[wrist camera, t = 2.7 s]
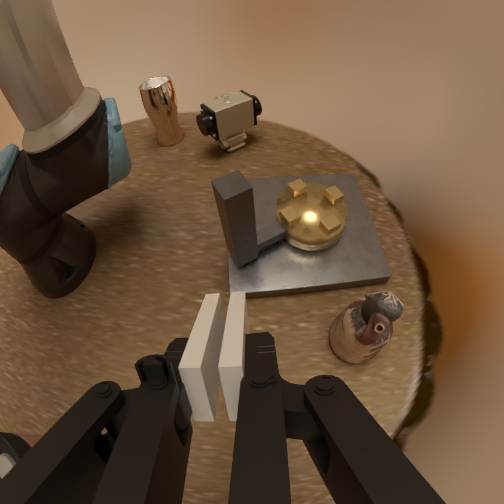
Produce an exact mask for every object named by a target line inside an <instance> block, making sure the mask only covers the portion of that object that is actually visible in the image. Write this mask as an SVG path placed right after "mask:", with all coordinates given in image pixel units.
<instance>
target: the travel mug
mask: <svg viewBox="0 0 504 504" xmlns="http://www.w3.org/2000/svg"><path fill="white" fill-rule="evenodd" d="M42 437H43V436H41V435H24V434H13V433H4V432H0V480H1V479H2V478H3V477H4V476H5V475H6V474H7V473H8V472H9V471H10V470H11V469H12V468H13V467H14V466H15V464H16V463H17V462H18V461H19V460H20V459H21V458H22V457H23V456H24V455H25V454H26V453H27V452H28V451H29V450H30V449H31V448H32V447H33V446H34V445H35V444H36V443H37V442H38V441H39V440H40V439H41V438H42Z"/></svg>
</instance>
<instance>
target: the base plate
mask: <svg viewBox="0 0 504 504" xmlns="http://www.w3.org/2000/svg"><path fill="white" fill-rule="evenodd" d="M297 179H301V180H302V181H303V182H304V183H308V182H309V183H318V184H322V185H325V186H327V187H329V188H330V187H332V186H334V185H335V186H336V187H337V188H338V189H339V190H340V191H341V192H342V193H343V194H344V199H343V200H344V201H345V203H346V206H347V210H348V218H347V221H346V224H345V227H344V230H343V233H342V235H341V237H340V239H339V240H338V241H337V242H336V243H335V244H334V245H332V246H331V247H329V248H326V249H323V250H317V251H309V250H303V249H300V248H297V247H295V246H293V245H291V244H290V243H288V242H287V241H286V240H285V239H284V238H282V239H281V240H279V241H277V242H275V243H273V244H271V245H269V246H267V247H265V248H263V249H261V250H259V251H258V258H256V259H254V260H252V261H250V262H248V263H246V264H244V265H242V266H240V267H239V268H238V266H237V264H236V263H235V261H234V259H233V258H232V256H231V255H230V253H229V251H228V254H229V284H230V295H231V292H240V291H245V294H246V299H247V298H259V297H270V296H280V295H290V294H300V293H309V292H318V291H326V290H334V289H342V288H350V287H358V286H365V285H372V284H379V283H386V282H387V281H388V280H389V279H390V277H391V273H390V270H389V267H388V264H387V260H386V257H385V254H384V251H383V248H382V245H381V242H380V240H379V237H378V234H377V231H376V228H375V226H374V223H373V220H372V218H371V215H370V212H369V210H368V207H367V205H366V202H365V200H364V197H363V195H362V193H361V190H360V188H359V185H358V183H357V181H356V179H355V176H354V174H327V175H305V176H288V177H273V178H261V179H250V180H247V181H248V182H249V183H250V185H251V186H252V187H253V196H254V208H255V220H256V231H257V230H259V229H261V228H263V227H265V226H267V225H270V224H272V223H274V222H276V204H277V200H278V198H279V196H280V195H281V193H282V192H283V191H284V190H286V189H287V184H288V183H290V182H293V181H295V180H297Z"/></svg>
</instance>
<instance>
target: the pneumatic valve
mask: <svg viewBox="0 0 504 504" xmlns="http://www.w3.org/2000/svg"><path fill="white" fill-rule="evenodd" d="M200 106H201V110H200V112H201V114H199V115H197V117H196V120H197V124H198V127H199V129H200V131H201V132H202V134H203V135H204V136H208V135H211V136H212V137H213V138H214V139H215V140H216V141H218V140H219V144H220V146H221V148H222V149H224V150H225V149H228V150H227V151H228V152H232V151H235V150H237V149H239V148H241V147H244V146H245V142H244V141H245V140H246V139H247V136H246V133H245V132H244V131H243V130H244V129H247V128H249V127H252V126H255V125H257V120H258V118H257V117H256V116H258V115H260V114H261V112H262V107H261V103H260V101H259V100H258V98H257V97H255V96H254V95H249V94H248V93H246V92H244V91H242V90H241V91H238V92H235V93H232V94H229V95H225V96H224V95H222V96H221V97H220V98H218V97H216V98H215V100H212V101H209V102H207V103H204V104H201V105H200Z"/></svg>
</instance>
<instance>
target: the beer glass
mask: <svg viewBox="0 0 504 504" xmlns="http://www.w3.org/2000/svg"><path fill="white" fill-rule="evenodd" d="M139 89H140V94H141V98H142V102H143V105H144V108H145V111H146V113H147V114H148V116H149V118H150V120H151V122H152V123H153V125H154V127H155V129H156V132H157V138H158V143H159V144H160V145H161V146H171V145H174V144H176V143H178V142H180V141H181V140H182V138H183V137H184V133H183V131H182V129H181V127H180V125H179V122H178V112H177V100H176V95H175V91H174V88H173V85H172V82H171V79H170V77H169V76H158V77H155V78H152V79H149V80H147V81H145V82H144V83H142V84H141V85H140V86H139Z"/></svg>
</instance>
